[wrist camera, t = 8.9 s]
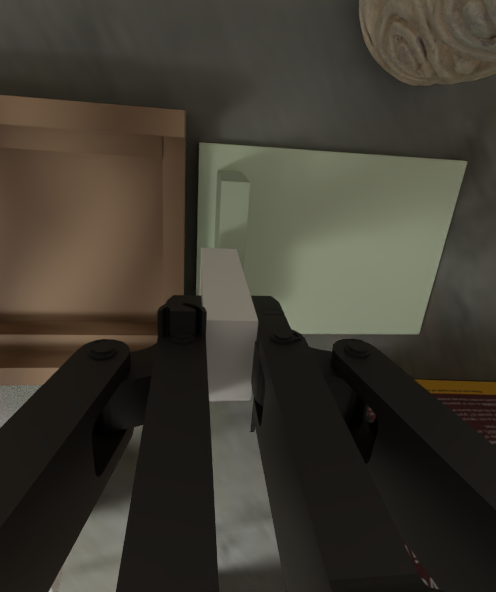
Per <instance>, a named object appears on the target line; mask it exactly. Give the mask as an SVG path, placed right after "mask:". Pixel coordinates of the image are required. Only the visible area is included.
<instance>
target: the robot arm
mask: <svg viewBox="0 0 496 592" xmlns="http://www.w3.org/2000/svg"><path fill="white" fill-rule="evenodd" d="M157 323H158V339H157V343H156V344H154V345H153V346H151V347H148V348H146V349H142V350H138V351H132V352H130V349H129V347H128V345H127V344H125V343H124V342H122V341H118V340H114V339H101V340H100V339H99V340H95V341H92V342H89V343H87V344H84V345H83V346H82V347H80V348H79V349H78V350H77V351H76V352H75V353H74V354H73V355H72V356H71V357H70V358H69V359H68V360H67V361H66V362H65V363H64V364H63V365H62V366H61V367H60V368H59V369H58V370H57V371H56V372H55V373H54V374H53V375H52V376H51V377H50V378H49V379H48V380H47V381H46V382H45V383H44V384H43V385H42V386H41V387H40V388H39V389H38V390H37V391H36V392H35V393H34V394H33V395H32V396H31V397H30V398H29V399H28V401H27V402H26V403H25V404H24V405H23V406H22V407H21V408H20V409H19V410H18V411H17V412H16V413H15V414H14V415H13V416H12V417H11V418H10V419H9V420H8V421H7V422H6V423H5V424H4V425H3V426H2V427H1V428H0V592H49V590H50V588H51V586H52V584H53V583H54V581H55V579H56V577H57V575H58V573H59V571H60V570H61V568H62V566H63V564H64V562H65V560H66V558H67V556H68V555H69V553H70V551H71V549H72V547H73V545H74V543H75V542H76V540H77V538H78V536H79V534H80V532H81V530H82V528H83V527H84V525H85V523H86V521H87V519H88V517H89V515H90V514H91V512H92V510H93V508H94V506H95V504H96V502H97V501H98V499H99V497H100V495H101V493H102V491H103V489H104V487H105V486H106V484H107V482H108V480H109V478H110V476H111V474H112V473H113V471H114V469H115V467H116V465H117V463H118V461H119V459H120V458H121V456H122V454H123V452H124V450H125V448H126V446H127V445H128V443H129V441H130V439H131V437H132V435H133V431H134V427H136V426H140V425H143V431H142V437H141V443H140V449H139V455H138V461H137V467H136V473H135V479H134V485H133V491H132V497H131V503H130V510H129V516H128V522H127V528H126V534H125V540H124V546H123V552H122V558H121V564H120V570H119V576H118V582H117V589H116V592H219V585H218V566H217V546H216V527H215V507H214V488H213V468H212V448H211V429H210V409H209V401H251V392H252V390H253V394H254V401H253V411H252V421H251V431H250V432H254V430H255V427H256V433H257V438H258V443H259V449H260V454H261V459H262V465H263V470H264V475H265V481H266V486H267V491H268V497H269V502H270V507H271V513H272V518H273V523H274V529H275V534H276V539H277V545H278V550H279V555H280V561H281V566H282V571H283V577H284V582H285V587H286V592H496V447H495V446H494V445H493V444H491V443H490V442H489V441H488V440H487V439H485V438H484V437H483V436H482V435H481V434H479V433H478V432H477V431H476V430H475V429H473V428H472V427H471V426H470V425H469V424H467V423H466V422H465V421H464V420H462V419H461V418H460V417H459V416H458V415H456V414H455V413H454V412H453V411H452V410H450V409H449V408H448V407H447V406H446V405H444V404H443V403H442V402H441V401H440V400H438V399H437V398H436V397H435V396H434V395H432V394H431V393H430V392H429V391H427V390H426V389H425V388H424V387H423V386H421V385H420V384H419V383H418V382H417V381H415V380H414V379H413V378H412V377H411V376H409V375H408V374H407V373H406V372H405V371H403V370H402V369H401V368H400V367H399V366H397V365H396V364H395V363H394V362H392V361H391V360H390V359H389V358H388V357H386V356H385V355H384V354H383V353H382V352H380V351H379V350H378V349H377V348H375V347H374V346H372V345H371V344H369V343H366V342H363V341H362V340H358V339H357V340H356V339H343V340H339V341H337V342H336V343H335V344H333V350H332V352H330V351H325V350H319V349H315V348H311V347H309V346H308V344H307V342H306V340H305V338H304V337H303V336H302V335H301V334H300V333H298V332H297V331H295V330H292V329H291V327H290V325H289V323H288V321H287V318H286V316H285V314H284V312H283V310H282V307H281V305H280V303H279V302H278V301H277V300H276V299H274V298H273V297H272V296H251V295H250V292H249V289H248V285H247V282H246V279H245V276H244V272H243V269H242V266H241V262H240V259H239V256H238V253H237V249H223V248H201V263H200V295H173V296H172V297H171V298H169V299H168V300H167V301H166V304H164V305H162V306H161V307H160V308H159V309H158V311H157ZM369 407H370V408H371V409H372V411H373V412H374V413H375V419H374V420H372V419H371V418H370V417H369V416H368V414H367V413H368V409H369ZM401 537H402V539H403V540H404V541H405V543H406V544H407V545H408V547H409V548H410V550H411V551H412V552H413V554H414V555H415V556H416V558H417V559H418V560H419V562H420V563H421V565H422V566H423V567H424V569H425V570H426V571H427V573H428V574H429V575H430V577H431V578H432V579H433V581H434V582H435V584H436V585H437V586H438V588H439V589H435V588H429V587H428V586H427V585H426V584H425V583H424V582H423V580H422V579H421V577H420V575H419V574H418V572H417V570H416V568H415V565H414V563H413V561H412V559H411V557H410V555H409V553H408V551H407V549H406V547H405V545H404V543H403V541H402V539H401Z"/></svg>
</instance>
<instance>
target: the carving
mask: <svg viewBox="0 0 496 592" xmlns="http://www.w3.org/2000/svg"><path fill="white" fill-rule="evenodd" d="M359 19H360V26H361V30H362V34H363V38H364V41H365V44H366V46H367V48H368V50H369V52H370V53H371V55H372V56H373V58H374V59H375V61H376V62H377V63H378V64H379V65H380V66H381V67H382V68H383V69H384V70H385V71H387V72H388V73H389V74H390V75H392V76H393V77H395V78H396V79H397V80H399V81H401V82H404V83H406V84H409V85H413V86H419V85H424V86H431V85H434V84H442V85H445V84H456V83H460V82H468V81H475V80H478V79H482V78H485V77H488V76H491V75H494V74H496V0H359Z"/></svg>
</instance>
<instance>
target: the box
mask: <svg viewBox="0 0 496 592" xmlns="http://www.w3.org/2000/svg"><path fill="white" fill-rule="evenodd" d="M186 115H187V111H185V110H176V109H164V108H152V107H140V106H128V105H116V104H104V103H92V102H80V101H68V100H56V99H44V98H32V97H20V96H8V95H0V385H43V384H44V383H45V382H46V381H47V380H48V379H49V378H50V377H51V376H52V375H53V374H54V373H55V372H56V371H57V370H58V369H59V368H60V367H61V366H62V365H63V364H64V363H65V362H66V361H67V360H68V359H69V358H70V357H71V356H72V355H73V354H74V353H75V352H76V351H77V350H78V349H79V348H80V347H82V346H83V345H84V344H87V343H89V342H92V341H95V340H99V339H100V340H101V339H114V340H118V341H122V342H124V343H125V344H127V345H128V347H129V349H130V352H132V351H138V350H142V349H146V348H148V347H151V346H153V345H154V344H156V343H157V339H158V323H157V311H158V309H159V308H160V307H161V306H162V305H164V304H166V301H167V300H168V299H169V298H171V297H172V296H173V295H184V281H185V198H186Z"/></svg>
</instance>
